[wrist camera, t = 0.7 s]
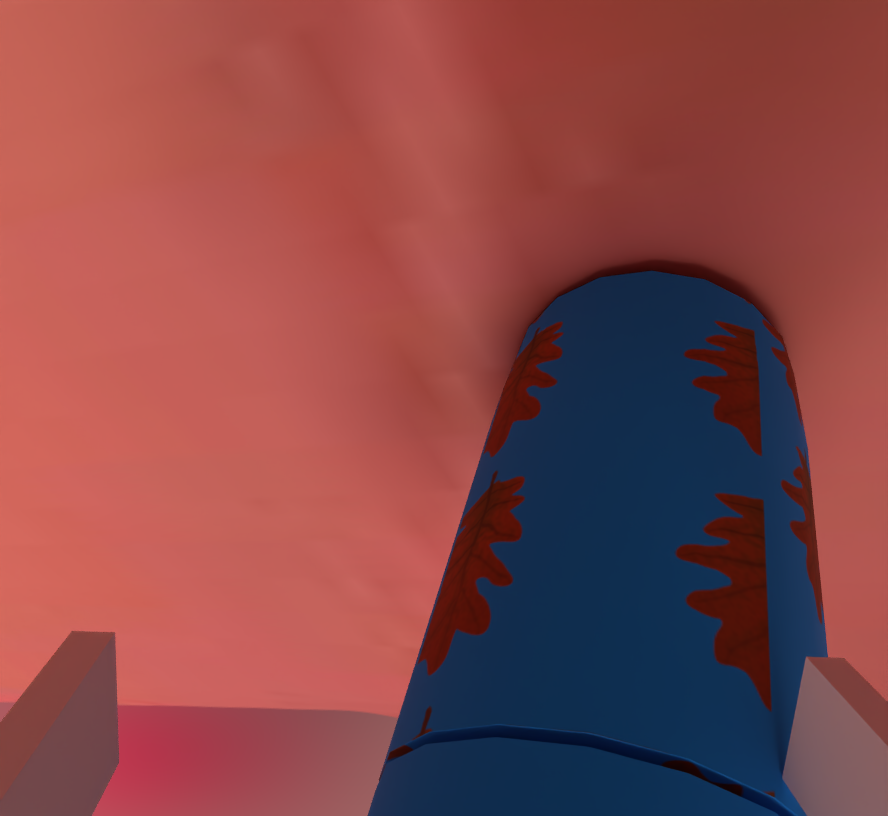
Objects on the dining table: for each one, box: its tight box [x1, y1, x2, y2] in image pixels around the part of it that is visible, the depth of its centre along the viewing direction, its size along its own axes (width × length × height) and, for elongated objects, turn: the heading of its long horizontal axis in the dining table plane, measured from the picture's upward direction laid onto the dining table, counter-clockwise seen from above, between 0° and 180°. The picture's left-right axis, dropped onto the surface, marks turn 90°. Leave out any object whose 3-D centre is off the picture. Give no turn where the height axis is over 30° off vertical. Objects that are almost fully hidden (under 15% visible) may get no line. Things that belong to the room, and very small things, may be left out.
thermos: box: [368, 271, 828, 816], centre depth 22 cm, size 11×11×25 cm
